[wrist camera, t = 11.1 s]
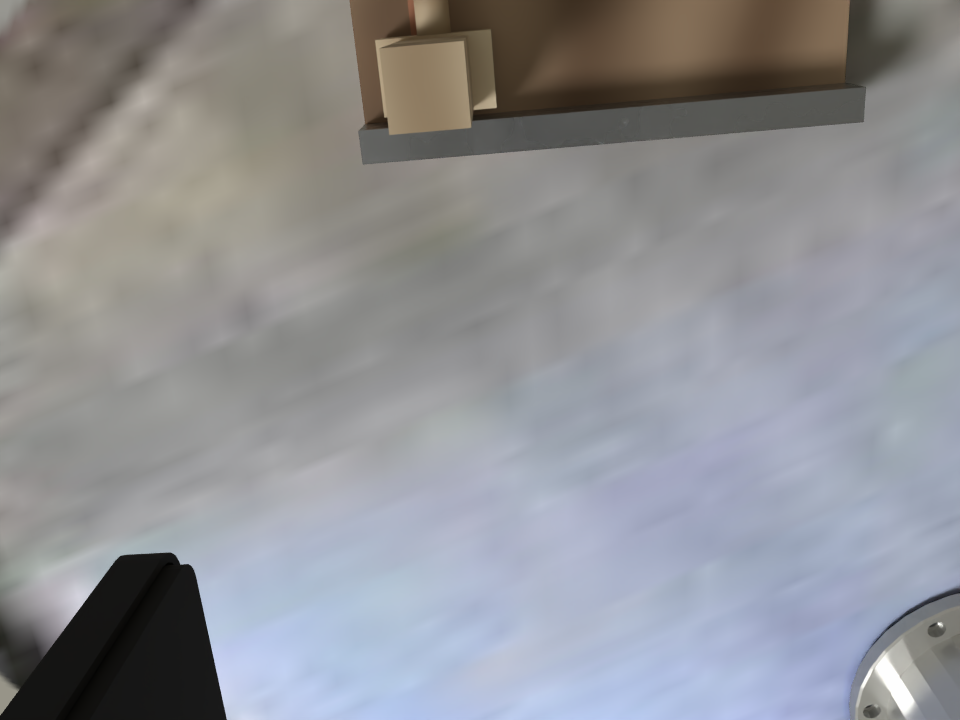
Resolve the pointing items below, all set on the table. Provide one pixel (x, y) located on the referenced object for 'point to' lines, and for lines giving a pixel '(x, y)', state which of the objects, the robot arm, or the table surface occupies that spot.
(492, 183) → the table surface
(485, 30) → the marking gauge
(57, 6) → the table surface
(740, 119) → the wooden slotted block
